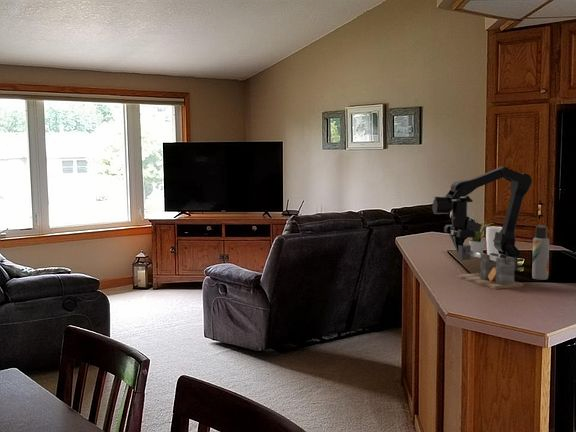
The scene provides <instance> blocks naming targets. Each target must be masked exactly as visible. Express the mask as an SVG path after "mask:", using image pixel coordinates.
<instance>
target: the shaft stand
mask: <svg viewBox="0 0 576 432" xmlns="http://www.w3.org/2000/svg"><path fill="white" fill-rule="evenodd" d="M490 255H493V256H497V257H499V254H496V253H490ZM493 267H496V278H495V279H494V281H492V282H491V281H490V280H489V278H488V275H489V273H490V272H491V270H492V269H493ZM514 269H515V258H513V257H506V264H505V259H504V258H500V257H499V258H496V262H494V261H490V260H489V255H487V253H484V254H481V258H480V269H479V270H480V272H473V273H472V272H471V273H464V274H463V273H462V274H457V277H456V278H457V279H458V278H459V279H461V280H465V281H467V282H471V283H474V284H478V285H480V286H483V287H484V286H485V287H487V288H491V289H494V290H499V289H510V288H521V287H524V283H523V282H519V281H516V280H515V272H514Z"/></svg>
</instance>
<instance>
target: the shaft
mask: <svg viewBox="0 0 576 432" xmlns="http://www.w3.org/2000/svg"><path fill="white" fill-rule="evenodd" d="M457 254H458V255H457V258H458V260H462V261H465V260H472V259H471V257H474V258H479V259H481V254H485V253H484V252H483V253H480V252H476V251H471V245H470V244H463V245H458V253H457ZM486 254H487V253H486ZM487 255H488V254H487ZM496 258H499V257H497V256H493V255H489V260H490V261H494V262H496Z"/></svg>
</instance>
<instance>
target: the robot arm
mask: <svg viewBox="0 0 576 432" xmlns="http://www.w3.org/2000/svg"><path fill="white" fill-rule="evenodd" d="M500 179H504V180H505V181H507V182H509V184H510V185H509V190H510V198H509V202H508V206H507V208H506V209H507V210H506V213H505V217H504V221H503V224H502V230H501V231H500V232H496V233H495V238H494V240H493V242H494V246H495V248H496V249H497V250H498V253H499V254H501V255H500V258H504V259H505V264H506V257H513V258H515V269H514V273H516V272H521V269H518V264H519V263H518V261H519V260H518V259H519V258H520V255H521V251H520V250H519V249H518V248H517V247H516V246H515V245H516V236H515V235H516V234H515V230H516V226H517V222H518V219H519V215H520V211H521V207H522V204H523V203H522V202H523V200H524V197H525V195H526V194H527V193H528V192H529V190H530V187H531V185H532V184H533V183H532V182H533V178H532V177H531V176H530V174H528V173H522V172H518V171H517V170H512V169H510V168H509V167H507V166H498V167H497V168H495V169H492V170H490V171H487V172H485V173H483V174H480V175H477V176H475V177H472V178H468V179H461V180H457V181H454V182H452V184H451V186H450V189H449V191H448V192H447V193H446V195H445V196H434V200H433V202H432V205H431V208H432V209H431V210H432V212H433V214H434V215H441V214H443V215H445V214H446V215H448V214H450V213H451V215H450V216H449V217H450V219H451V224H445V226H444V227H443V232H444V233H448V232H450V233H449V237H450V240H451V241H452V243H453V246H454V247H455V251H456V253H457V254H458V245H465V244H464V243H465V241H466V240H467V239H469V238H472V237H475V234H476V232H475V231H478V232H479V231H480V232H481V230H480V228H481V229H482V227H483V224H481V223H479V222H478V223H477V221H476V219H474V218H470V216H468V203H473V199H472V198H471V197H470V196H469V195H470V194H471V193H473V192H474V191H475V190H476V189H479V188H481V187H483V186H485V185H487V184H490V183H492V182H495V181H498V180H500ZM481 226H482V227H481Z"/></svg>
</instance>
